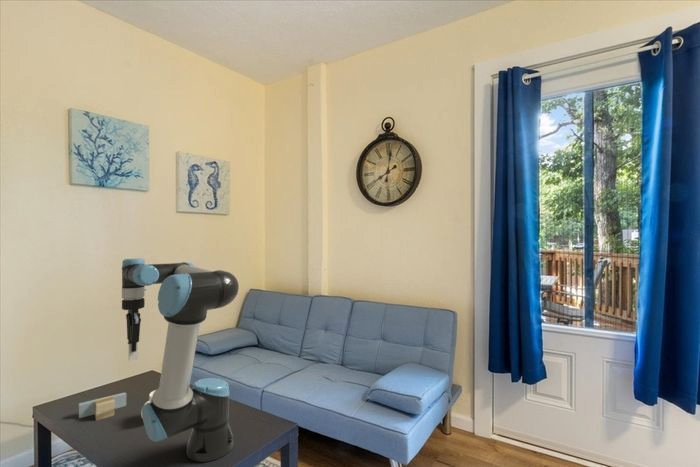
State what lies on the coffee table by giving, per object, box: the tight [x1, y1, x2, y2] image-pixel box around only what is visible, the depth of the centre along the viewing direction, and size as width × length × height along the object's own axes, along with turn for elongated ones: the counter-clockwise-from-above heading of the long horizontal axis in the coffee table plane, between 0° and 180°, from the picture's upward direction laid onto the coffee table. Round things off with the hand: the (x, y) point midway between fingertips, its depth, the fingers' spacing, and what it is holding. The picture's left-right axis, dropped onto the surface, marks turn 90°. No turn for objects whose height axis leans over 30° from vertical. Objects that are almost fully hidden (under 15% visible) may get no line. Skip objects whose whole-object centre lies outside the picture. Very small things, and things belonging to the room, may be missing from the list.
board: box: [78, 392, 127, 419], centre depth 146 cm, size 2×16×5 cm, turn 131°
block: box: [94, 395, 115, 421], centre depth 142 cm, size 6×6×6 cm
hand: (133, 359), depth 135 cm, fingers closed
